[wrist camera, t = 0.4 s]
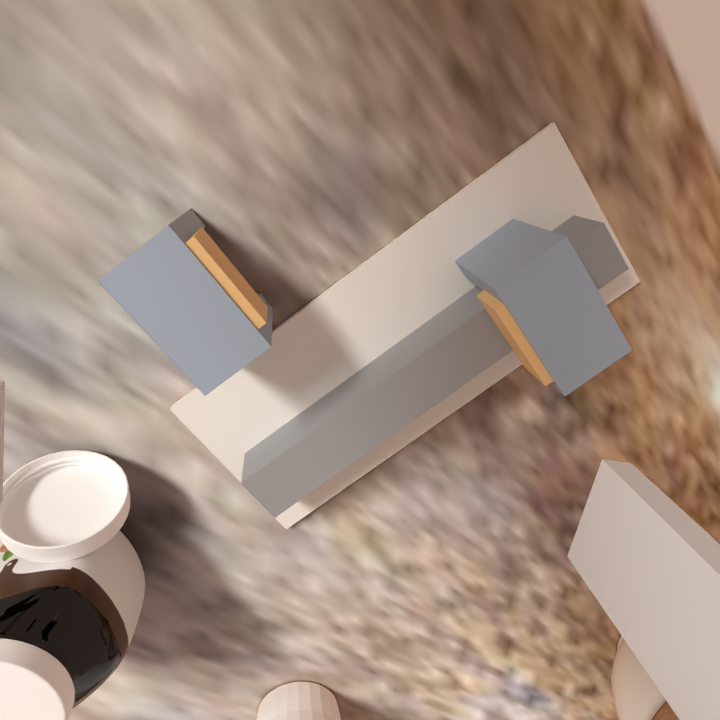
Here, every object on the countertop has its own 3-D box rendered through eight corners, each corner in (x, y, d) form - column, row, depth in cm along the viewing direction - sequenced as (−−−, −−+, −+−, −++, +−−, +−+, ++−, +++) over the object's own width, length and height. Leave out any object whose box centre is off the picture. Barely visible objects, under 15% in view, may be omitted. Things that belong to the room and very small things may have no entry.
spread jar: (28, 626, 40) (-66, 806, 29) (-71, 491, 36) (-222, 641, 25) (197, 563, 40) (166, 720, 29) (117, 421, 36) (46, 541, 25)
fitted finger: (447, 266, 35) (485, 295, 28) (512, 218, 34) (567, 236, 28) (508, 356, 37) (556, 402, 31) (569, 313, 37) (632, 350, 30)
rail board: (171, 405, 36) (158, 436, 32) (550, 122, 33) (584, 120, 30) (286, 524, 40) (286, 564, 36) (635, 279, 37) (675, 295, 33)
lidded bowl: (604, 574, 45) (700, 704, 34) (756, 575, 47) (891, 699, 36) (567, 703, 49) (643, 853, 38) (708, 699, 51) (817, 842, 40)
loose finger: (134, 253, 33) (97, 280, 26) (198, 202, 32) (177, 218, 26) (219, 349, 35) (204, 396, 29) (280, 303, 35) (279, 340, 28)
